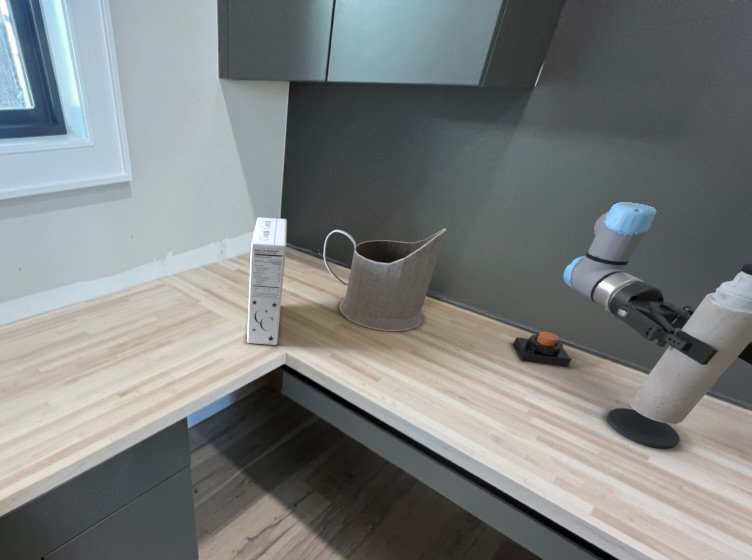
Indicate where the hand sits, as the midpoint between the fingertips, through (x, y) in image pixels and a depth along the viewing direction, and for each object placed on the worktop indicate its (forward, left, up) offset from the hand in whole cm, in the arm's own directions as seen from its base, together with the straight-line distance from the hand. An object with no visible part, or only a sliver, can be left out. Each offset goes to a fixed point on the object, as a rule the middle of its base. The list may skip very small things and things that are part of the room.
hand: (735, 358), depth 67 cm
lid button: (+12, -29, -16) cm, 36 cm away
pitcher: (+54, -44, -20) cm, 73 cm away
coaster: (+1, -4, -19) cm, 20 cm away
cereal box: (+81, -25, -20) cm, 87 cm away
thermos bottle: (+1, -5, -15) cm, 16 cm away
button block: (+12, -29, -19) cm, 37 cm away
